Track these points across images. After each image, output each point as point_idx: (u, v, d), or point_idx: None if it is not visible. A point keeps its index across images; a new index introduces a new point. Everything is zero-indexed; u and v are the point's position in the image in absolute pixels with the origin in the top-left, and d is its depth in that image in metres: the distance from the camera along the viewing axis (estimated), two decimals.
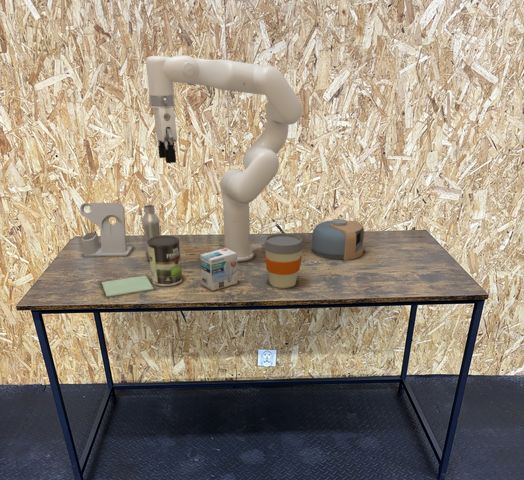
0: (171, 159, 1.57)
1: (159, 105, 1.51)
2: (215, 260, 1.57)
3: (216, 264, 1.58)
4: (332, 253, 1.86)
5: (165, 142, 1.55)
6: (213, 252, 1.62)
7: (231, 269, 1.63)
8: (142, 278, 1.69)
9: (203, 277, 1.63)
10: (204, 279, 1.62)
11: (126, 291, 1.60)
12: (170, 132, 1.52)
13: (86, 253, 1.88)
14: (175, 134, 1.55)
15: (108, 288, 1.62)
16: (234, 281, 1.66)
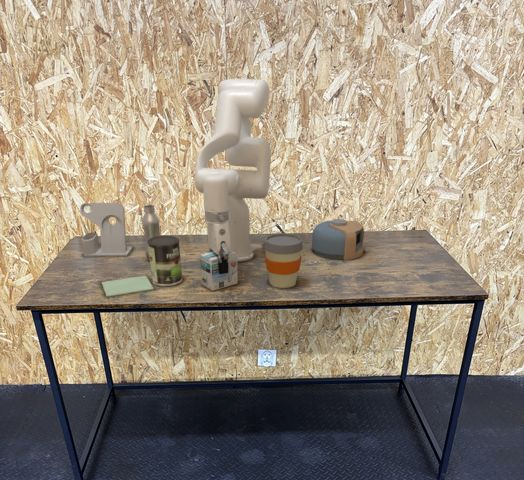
0: (224, 271, 1.59)
1: (215, 221, 1.52)
2: (215, 260, 1.57)
3: (216, 264, 1.58)
4: (332, 253, 1.86)
5: (219, 256, 1.56)
6: (213, 252, 1.62)
7: (231, 269, 1.63)
8: (142, 278, 1.69)
9: (203, 277, 1.63)
10: (204, 279, 1.62)
11: (126, 291, 1.60)
12: (225, 248, 1.54)
13: (86, 253, 1.88)
14: (229, 247, 1.56)
15: (108, 288, 1.62)
16: (234, 281, 1.66)
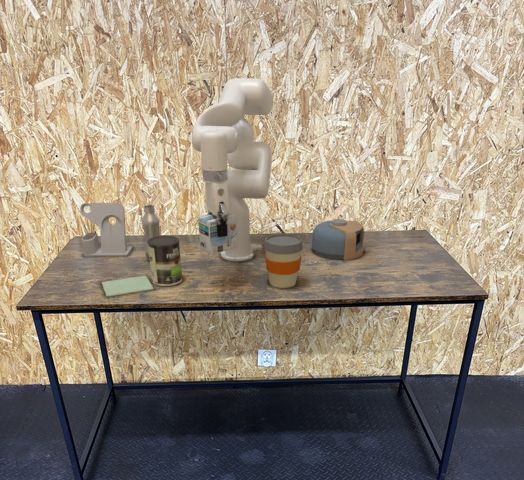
0: (223, 233, 1.53)
1: (213, 180, 1.46)
2: (214, 222, 1.51)
3: (215, 227, 1.52)
4: (332, 253, 1.86)
5: (218, 217, 1.50)
6: (212, 215, 1.56)
7: (230, 232, 1.57)
8: (142, 278, 1.69)
9: (201, 241, 1.57)
10: (203, 242, 1.57)
11: (126, 291, 1.60)
12: (224, 209, 1.48)
13: (86, 253, 1.88)
14: (228, 208, 1.50)
15: (108, 288, 1.62)
16: (234, 245, 1.60)
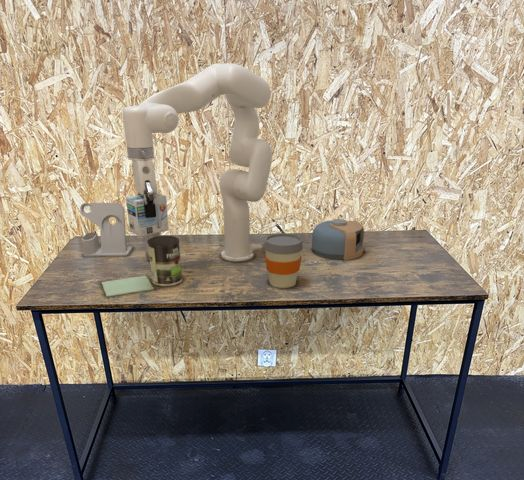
0: (151, 214, 1.48)
1: (137, 158, 1.41)
2: (140, 202, 1.46)
3: (142, 207, 1.47)
4: (332, 253, 1.86)
5: (144, 197, 1.45)
6: (140, 195, 1.51)
7: (160, 213, 1.52)
8: (142, 278, 1.69)
9: (130, 222, 1.52)
10: (131, 224, 1.52)
11: (126, 291, 1.60)
12: (149, 187, 1.43)
13: (86, 253, 1.88)
14: (155, 187, 1.45)
15: (108, 288, 1.62)
16: (165, 228, 1.55)
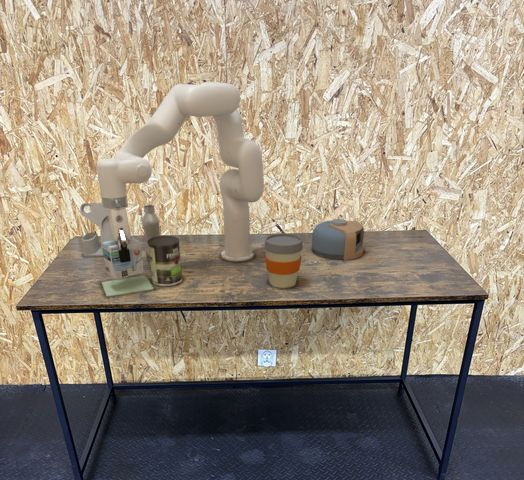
0: (125, 259, 1.54)
1: (111, 207, 1.47)
2: (115, 248, 1.53)
3: (116, 252, 1.54)
4: (332, 253, 1.86)
5: (118, 243, 1.52)
6: None
7: (135, 257, 1.58)
8: (142, 278, 1.69)
9: (106, 266, 1.59)
10: (107, 267, 1.58)
11: (126, 291, 1.60)
12: (123, 235, 1.49)
13: (86, 253, 1.88)
14: (129, 234, 1.52)
15: (108, 288, 1.62)
16: (140, 270, 1.61)
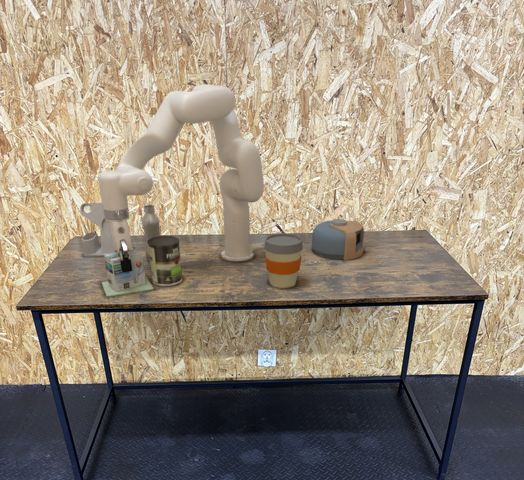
0: (127, 269, 1.56)
1: (113, 219, 1.49)
2: (117, 261, 1.55)
3: (118, 265, 1.56)
4: (332, 253, 1.86)
5: (120, 253, 1.53)
6: None
7: (137, 269, 1.61)
8: None
9: (108, 278, 1.61)
10: (109, 279, 1.60)
11: (126, 291, 1.60)
12: (124, 245, 1.51)
13: (86, 253, 1.88)
14: (130, 245, 1.53)
15: (108, 288, 1.62)
16: (142, 282, 1.64)
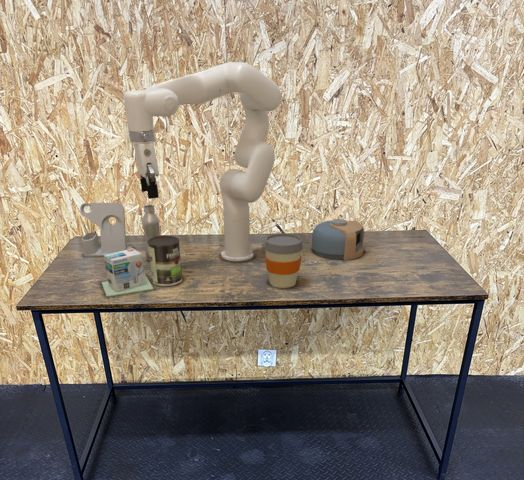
0: (153, 195, 1.53)
1: (139, 141, 1.46)
2: (117, 261, 1.55)
3: (118, 265, 1.56)
4: (332, 253, 1.86)
5: (146, 178, 1.50)
6: (118, 253, 1.60)
7: (136, 269, 1.61)
8: None
9: (108, 278, 1.61)
10: (109, 279, 1.60)
11: (126, 291, 1.60)
12: (151, 168, 1.48)
13: (86, 253, 1.88)
14: (156, 169, 1.50)
15: (108, 288, 1.62)
16: (142, 282, 1.64)
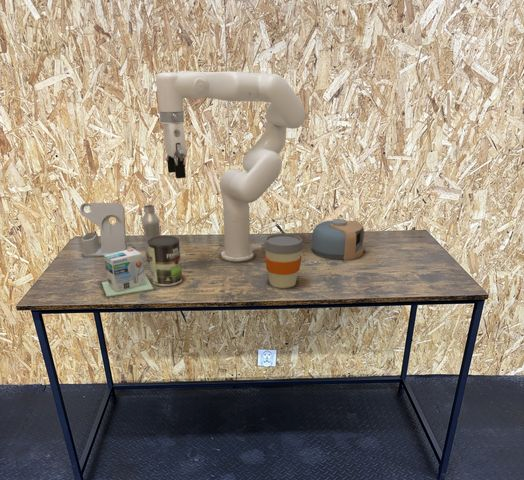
0: (181, 174, 1.57)
1: (169, 121, 1.51)
2: (117, 261, 1.55)
3: (118, 265, 1.56)
4: (332, 253, 1.86)
5: (175, 158, 1.55)
6: (118, 253, 1.60)
7: (136, 269, 1.61)
8: None
9: (108, 278, 1.61)
10: (109, 280, 1.60)
11: (126, 291, 1.60)
12: (180, 148, 1.52)
13: (86, 253, 1.88)
14: (185, 150, 1.55)
15: (108, 288, 1.62)
16: (142, 282, 1.64)
